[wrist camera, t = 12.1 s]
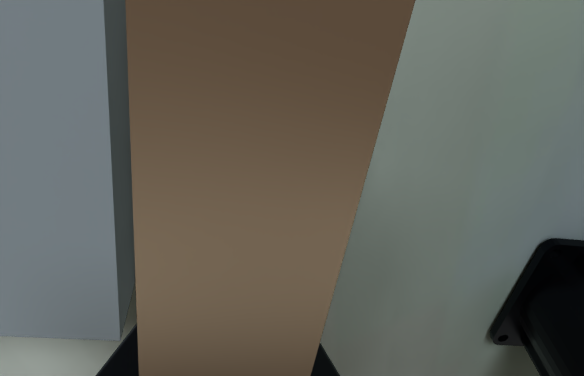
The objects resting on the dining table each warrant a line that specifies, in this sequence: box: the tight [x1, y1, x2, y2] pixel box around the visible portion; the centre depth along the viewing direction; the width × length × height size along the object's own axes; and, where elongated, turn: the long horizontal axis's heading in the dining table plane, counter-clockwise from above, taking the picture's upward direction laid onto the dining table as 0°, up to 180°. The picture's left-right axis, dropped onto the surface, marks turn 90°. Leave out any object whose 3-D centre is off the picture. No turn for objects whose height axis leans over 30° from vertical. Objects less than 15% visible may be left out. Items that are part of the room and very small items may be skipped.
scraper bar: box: [125, 0, 415, 376], centre depth 8 cm, size 16×2×4 cm, turn 171°
